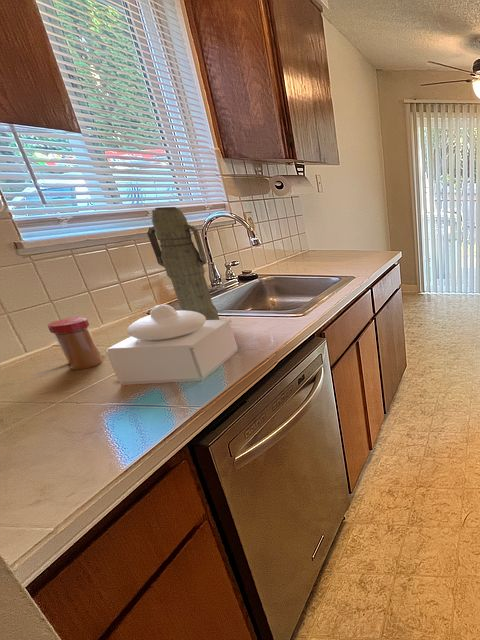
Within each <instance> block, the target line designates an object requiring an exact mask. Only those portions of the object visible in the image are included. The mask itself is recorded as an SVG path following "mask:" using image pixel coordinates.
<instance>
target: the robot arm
mask: <svg viewBox="0 0 480 640" xmlns="http://www.w3.org/2000/svg"><path fill="white" fill-rule="evenodd" d="M1 197H2V196H0V212H3V210H4V202H3V200H2V198H1Z"/></svg>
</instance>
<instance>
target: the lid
mask: <svg viewBox="0 0 480 640" xmlns="http://www.w3.org/2000/svg"><path fill="white" fill-rule="evenodd" d="M89 326H90V322H89V321H88V319H87V317H84V316H77V317H76V316H75V317H68V318H62V319H58V320H55V321H51V322H49V323H48V324H47V327H48V330H49V332H50V333H51V334H54V333H56V334H57V333H68V332H73V331H78V330H81V329H84V328H86V327H88V328H89Z"/></svg>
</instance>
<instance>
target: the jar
mask: <svg viewBox="0 0 480 640" xmlns="http://www.w3.org/2000/svg"><path fill="white" fill-rule="evenodd" d="M53 334H54V337H55V339H56V341H57V343H58V345H59V347H60V349H61V352H62V353H63V356H64V358H65V360H66V362H67V363H68V366H69V368H70V369H71V370H85V369H89V368H93V367H96V366H99V365H100V364H102V363H103V362H104V359H103V358H102V355H101V353H100V351H99V348H98V346H97V344H96V342H95V340H94V337H93V335H92V333H91V330H90V328H89V326H88V327H86V328H84V329H81V330H78V331H73V332H68V333H57V334H56V333H53Z"/></svg>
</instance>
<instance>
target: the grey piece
mask: <svg viewBox="0 0 480 640" xmlns="http://www.w3.org/2000/svg"><path fill="white" fill-rule="evenodd" d="M151 223H152V227H149V228H148V230H147V233H146V234H147V237H148V240H149V242H150V244H151V247H152V250H153V252H154V254H155V257H156V261H157V264H158V265H159V266H161V267H163V268H164V270H165V273H166V276H167V277H168V278H169V279H170V281H171V285H172V287H173V290H174V293H175V295H176V299H177V302H178V305H179V308H180V310H184V311H194V312H198V313H201V314H202V315H204V316H205V317H206V320H221V319H220V316H219V313H218V310H217V307H216V306H215V305H214V303H213V301H212V297H211V294H210V291H209V288H208V284H207V281H206V277H205V272H206V271H205V268H204V265H207V264H208V262H207V261H208V260H207V257H206V253H205V250H204V246H203V242H202V239H201V236H200V232H199V230H198V229H197V227H195V225H191V224H189V223H188V219H187V218H186V216H185V214H184V213H183V211H182V210H181V208H178V207H176V206H163V207H161V206H160V207H154V209H151ZM191 232H192V233H193V236H194V240H195V243H196V245H195V243H194V242H193V239H192V238H193V236H192V233H191ZM196 246H197V247H196Z"/></svg>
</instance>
